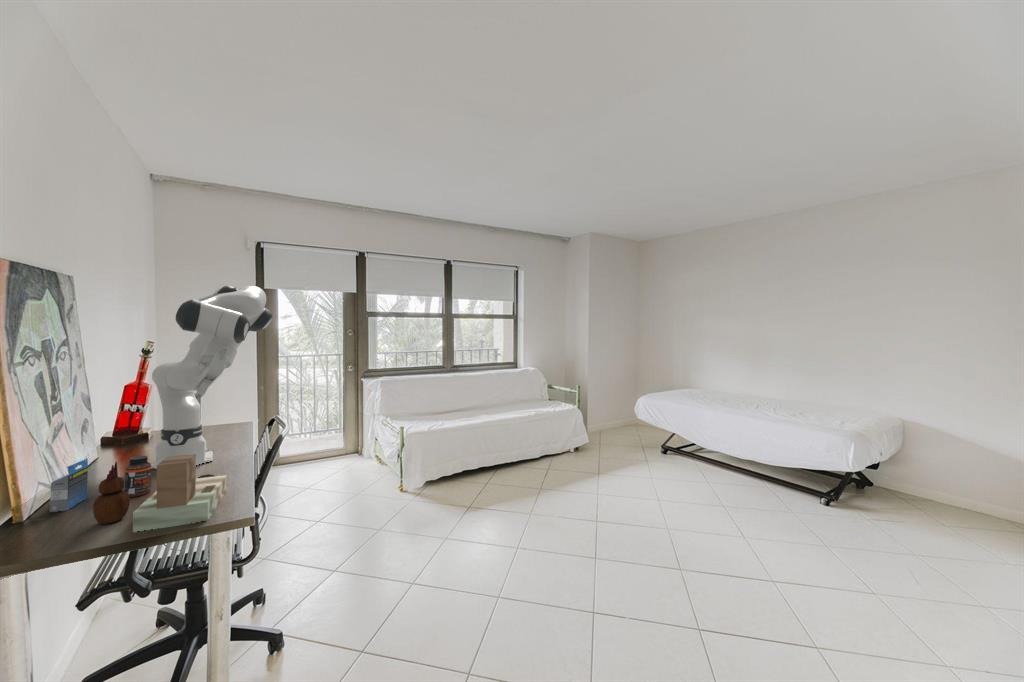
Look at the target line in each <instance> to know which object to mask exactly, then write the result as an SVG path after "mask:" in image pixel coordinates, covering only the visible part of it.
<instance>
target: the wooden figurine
mask: <svg viewBox="0 0 1024 682" xmlns="http://www.w3.org/2000/svg"><path fill="white" fill-rule="evenodd" d="M114 462H115V463H114V464H112V465H111V469H110V470H108V473H107V474H106V478H105V479H102V480H101V481H100V483H99V485H98V492H99V493H100V495H98V496H97V497H96V498H95V499H94V501H93V504H92V513H93V518H94V520H95V521H96V522H97V523H98V524H99V525H107V524H113V523H115V522H118V521H120V520H122V519H124V518H125V516H126V515H127V513H128V511H129V507H130V503H131V502H130V500H131V499H130V497H129V495H128V493H127V492H126V491H125V478H123V477H120V476H119V475H118V474H119V473H118V472H119V471H118V462H117V461H114Z"/></svg>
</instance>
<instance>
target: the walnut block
mask: <svg viewBox="0 0 1024 682" xmlns="http://www.w3.org/2000/svg"><path fill="white" fill-rule="evenodd" d="M196 467H197V466H196V454H192V455H181V456H171V457H167V458H166V459H164V460H163V461H162V462H160V463H159V464H158V465H157V469H156V491H157V509H160V508H167V507H175V506H182V505H187V504H188V503H189V501H190V500H191V499H192V498H193V496H194V495H195V489H196V478H197V477H196Z"/></svg>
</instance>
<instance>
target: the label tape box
mask: <svg viewBox="0 0 1024 682" xmlns="http://www.w3.org/2000/svg"><path fill="white" fill-rule="evenodd" d="M78 466H79V468H78ZM80 466H81V467H80ZM66 467H67V473H68V474H66V475H64V476H62V477H59V478H57V479H55V480H54V481H51V482H50V497H49V499H50V500H49V513H58V511H61V512H66V511H70V510H71V509H72V508H74V507H75V506H77V505H78V503H79V504H80V503H82V502H84V501H85V500H86V499H87V494H88V491H87V490H88V474H89V460H88V457H87V458H84V459H82V460H80V461H77V462H75V463H72V464H70V465H67V466H66ZM83 500H84V501H83ZM70 508H71V509H70Z"/></svg>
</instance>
